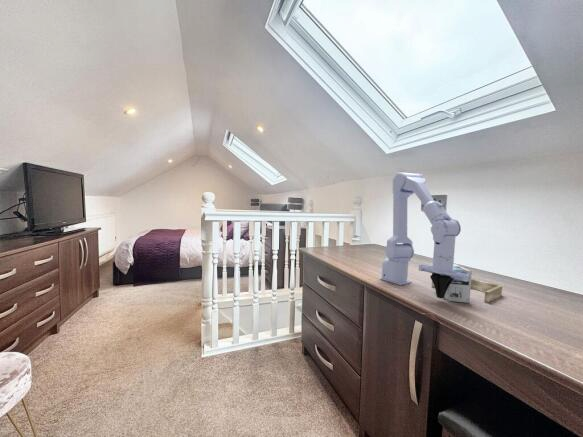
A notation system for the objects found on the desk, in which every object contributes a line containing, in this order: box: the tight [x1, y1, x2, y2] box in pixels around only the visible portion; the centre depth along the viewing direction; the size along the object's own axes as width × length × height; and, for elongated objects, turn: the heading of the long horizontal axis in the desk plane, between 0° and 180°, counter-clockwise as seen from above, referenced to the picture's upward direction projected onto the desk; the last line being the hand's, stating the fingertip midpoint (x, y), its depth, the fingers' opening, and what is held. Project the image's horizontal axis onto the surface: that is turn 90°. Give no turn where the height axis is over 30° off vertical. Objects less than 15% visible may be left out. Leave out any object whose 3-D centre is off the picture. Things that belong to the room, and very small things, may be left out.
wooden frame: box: [431, 278, 503, 304], centre depth 94 cm, size 18×14×4 cm
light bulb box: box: [443, 263, 473, 304], centre depth 87 cm, size 11×7×11 cm, turn 171°
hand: (440, 297), depth 82 cm, fingers closed
